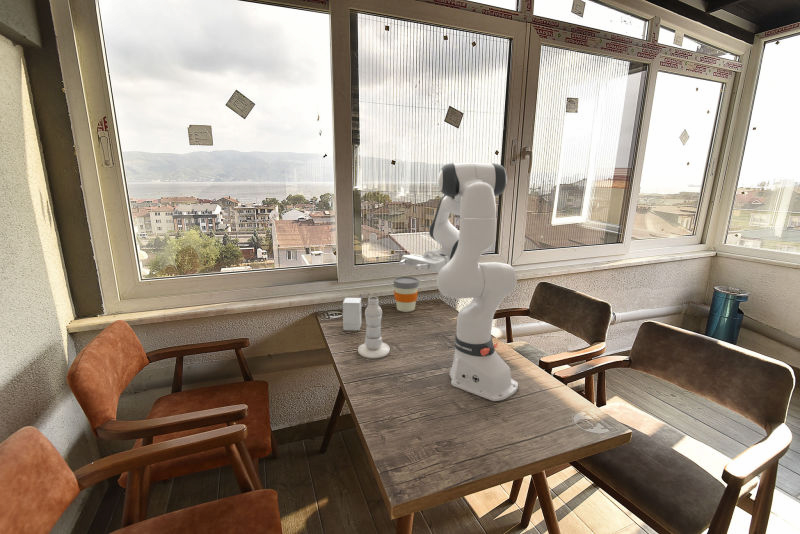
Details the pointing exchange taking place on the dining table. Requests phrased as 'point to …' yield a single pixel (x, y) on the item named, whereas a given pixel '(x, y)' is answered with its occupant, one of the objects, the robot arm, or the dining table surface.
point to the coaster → (374, 351)
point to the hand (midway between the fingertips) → (408, 265)
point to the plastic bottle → (373, 324)
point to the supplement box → (352, 314)
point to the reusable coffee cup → (406, 293)
